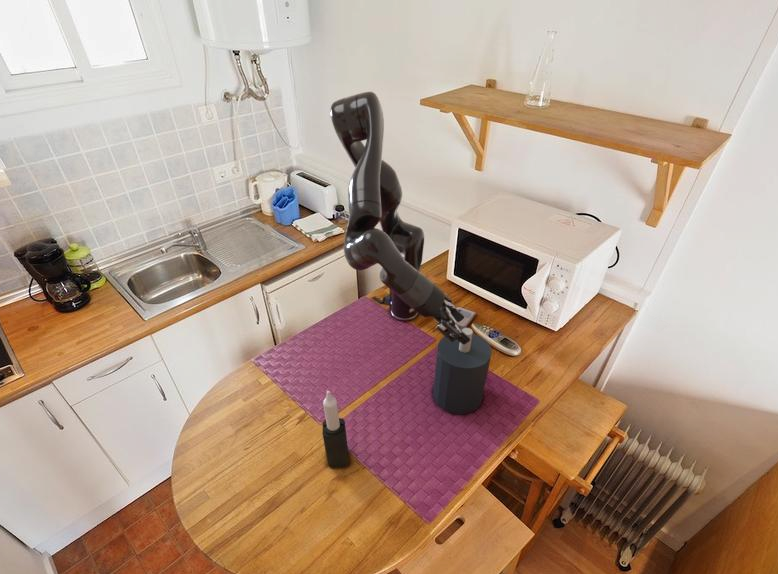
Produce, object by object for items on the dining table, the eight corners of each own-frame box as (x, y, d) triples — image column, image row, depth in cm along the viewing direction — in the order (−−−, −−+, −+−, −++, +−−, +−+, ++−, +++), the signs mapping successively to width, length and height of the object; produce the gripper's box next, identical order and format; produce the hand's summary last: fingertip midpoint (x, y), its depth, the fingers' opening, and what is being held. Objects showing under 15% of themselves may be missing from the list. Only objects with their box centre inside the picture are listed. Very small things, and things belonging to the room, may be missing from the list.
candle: (328, 450, 108) (316, 383, 92) (348, 449, 109) (340, 381, 92) (327, 468, 105) (315, 401, 88) (348, 466, 105) (340, 399, 88)
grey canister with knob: (422, 393, 122) (427, 330, 107) (455, 370, 129) (464, 307, 113) (459, 422, 114) (470, 358, 99) (492, 396, 121) (506, 332, 105)
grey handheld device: (477, 312, 151) (479, 305, 149) (458, 336, 141) (459, 329, 139) (460, 306, 153) (461, 299, 151) (440, 330, 143) (441, 323, 141)
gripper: (406, 285, 105) (448, 320, 113) (410, 322, 94) (456, 358, 102) (428, 266, 102) (471, 304, 109) (436, 302, 91) (482, 341, 99)
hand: (464, 330), depth 106 cm, fingers open, 8 cm apart
